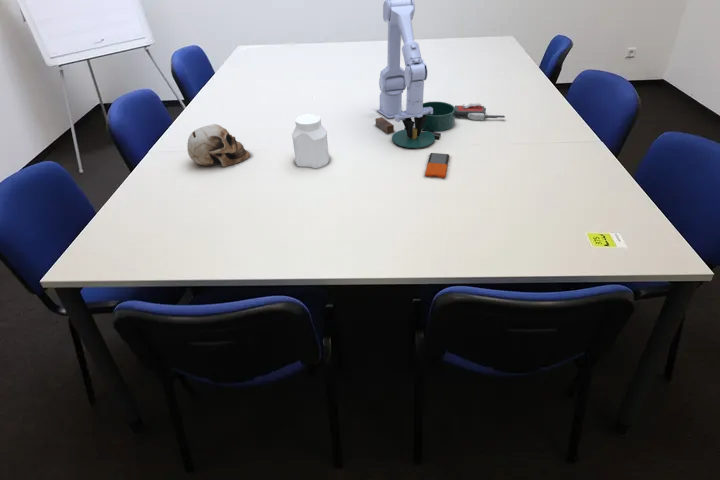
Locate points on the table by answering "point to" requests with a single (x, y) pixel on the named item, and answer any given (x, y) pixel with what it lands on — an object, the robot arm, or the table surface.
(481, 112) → the walkie-talkie
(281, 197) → the table surface
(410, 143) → the tin lid
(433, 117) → the tin
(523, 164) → the table surface
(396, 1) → the robot arm
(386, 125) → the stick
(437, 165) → the phone
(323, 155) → the jar
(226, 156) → the coin bank
